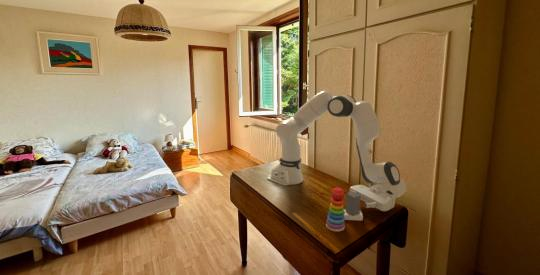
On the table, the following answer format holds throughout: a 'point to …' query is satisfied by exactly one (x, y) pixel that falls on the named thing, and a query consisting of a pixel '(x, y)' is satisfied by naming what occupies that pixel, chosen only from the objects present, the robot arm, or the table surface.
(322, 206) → the table surface
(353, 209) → the gray rectangular block
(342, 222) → the stacking toy
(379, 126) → the robot arm
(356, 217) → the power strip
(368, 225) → the table surface
